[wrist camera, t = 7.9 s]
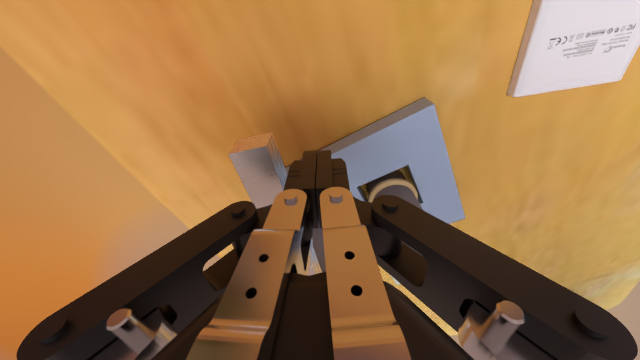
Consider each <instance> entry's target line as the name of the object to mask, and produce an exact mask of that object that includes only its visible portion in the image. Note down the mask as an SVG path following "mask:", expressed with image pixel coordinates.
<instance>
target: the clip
mask: <svg viewBox="0 0 640 360" xmlns="http://www.w3.org/2000/svg"><path fill="white" fill-rule="evenodd" d="M228 155H229V157H230V159H231V161H232V163H233V165H234V167H235V169H236V171H237V173H238V175H239V177H240V179H241V181H242V183H243V185H244V187H245V189H246V191H247V193H248V195H249V197H250V199H251V201H252V203H253V204H254V205H255V207H256V209H257V208H261V207H265V206H268V205H271V204H273V202H274V199H275V197H276V196H277V195H278V194H279V193H281V192H282V191H283V190H284V186H285V182H286V178H287V172H286V169H285V166H284V164H283V161H282V158H281V155H280V152H279V150H278V147H277V144H276V141H275V138H274V135H273V133H272V132H270V133H265V134H261V135H256V136H252V137H247V138H242V139H238V141H237V142H236V144H235V145H234V146H233V148H232V149H231V151H230V152H229V154H228ZM318 273H322V270H321V268H320V265H319V262H318V259H317V256H316V254H315V251H314V248H313V245H312V251H311V257H310V264H309V270H308V275H314V274H318Z"/></svg>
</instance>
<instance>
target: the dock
mask: <svg viewBox="0 0 640 360" xmlns="http://www.w3.org/2000/svg"><path fill="white" fill-rule="evenodd" d="M321 150H331V159H336V158H341V159H342V160H343V161H345V162H346V167H347V174H348V180H349V187H350V192H351V193H352V195H353V196H354V197H355V198H357V199H359V200H361V201H365V202H368V200H367V198H366V197H365V195H364V193H363V191H362V190H361V188H360V186H361V185H363V184H365V183H368V182H370V181H372V180H375V179H377V178H379V177H381V176H384V175H386V174H388V173H391V172H393V171H395V170H397V169H400V168H402V167H404V166H407V169H408V171H409V174H410V176H411V179H412V181H413V184H414V186H415V189H416V191H417V194H418V202H419V203H420V205H421V207H422V209H423V210H424V211H425V212H427V213H429V214H431V215H433V216H435V217H436V218H438V219H440V220H442V221H444V222H446V223H447V224H450V223H453V222H456V221H459V220H462V219H465V215H464V211H463V207H462V204H461V200H460V196H459V193H458V189H457V186H456V182H455V178H454V175H453V171H452V167H451V164H450V160H449V156H448V153H447V149H446V145H445V142H444V138H443V135H442V131H441V127H440V124H439V120H438V116H437V113H436V109H435V105H434V103H432V102H431V101H429V100H428V99H426V98H425V97H424V98H422V99H420V100H418V101H416V102H414V103H412V104H410V105H408V106H406V107H404V108H402V109H400V110H398V111H396V112H394V113H392V114H390V115H388V116H386V117H384V118H382V119H380V120H378V121H376V122H374V123H372V124H370V125H368V126H367V127H365V128H363V129H361V130H359V131H357V132H355V133H353V134H351V135H349V136H347V137H345V138H343V139H341V140H339V141H337V142H335V143H333V144H331V145H329V146H327V147H325V148H323V149H321ZM319 151H320V150H319ZM317 153H318V151H317ZM301 160H302V159H301ZM301 160H299V161H301ZM289 167H290V166H288V167H286V168H285V169H286V172H287V174H288V171H289ZM312 239H313V244H312V245H313V248H314V251H315V254H316V256H317V259H318V262H319V265H320V268H321V270H322V272H325V271H326V263H325V252H324V241H323V230H322V228H320V226H319V228H313V236H312Z"/></svg>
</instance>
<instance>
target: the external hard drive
mask: <svg viewBox="0 0 640 360" xmlns="http://www.w3.org/2000/svg"><path fill="white" fill-rule="evenodd" d="M639 45H640V0H534V1H533V4H532V8H531V11H530V15H529V18H528V22H527V25H526V29H525V32H524V36H523V39H522V43H521V46H520V50H519V53H518V57H517V60H516V64H515V67H514V71H513V74H512V78H511V81H510V85H509V88H508V92H507V95H509V96H512V97H522V96H527V95H534V94H540V93H545V92H552V91H558V90H565V89H571V88H578V87H584V86H590V85H596V84H603V83H609V82H616V81H619V80H621V78H622V77H623V75H624V73H625V71H626V69H627V68H628V66H629V63H630V61H631V60H632V58H633V56H634V54H635V52H636V51H637V49H638V47H639Z"/></svg>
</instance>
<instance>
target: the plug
mask: <svg viewBox="0 0 640 360" xmlns="http://www.w3.org/2000/svg"><path fill="white" fill-rule="evenodd" d="M367 188H368V191H369V199H368V201H369V202H371V203H372V202H373V200H374V199H375V198H376V197H378V196H382V195H393V196H397V197H400V198H402V199H403V200H405V201H407V202H409V203H411V204H413V205H414V206H416V207H418V208H420V209H422V207H421V205H420V203H419V202H418V194H417V191H416V190H415V188H414V186H413V185H412V184H411V183H410V182H409V181H407V180H406V179H405V177H404V175H403V174H402V172H400V171H399V170H395V171H393V172H391V173H388V174H386V175H384V176H381V177H379V178H377V179H375V180H372V181H370V182H368V183H367ZM422 210H423V209H422ZM403 243H404V242H403ZM406 245H407V244H406ZM407 246H408V245H407ZM409 247H410V246H409ZM410 248H411V247H410ZM413 250H414V249H413ZM416 252H417V251H416ZM417 253H418V252H417ZM419 254H420V253H419ZM420 255H421V254H420Z"/></svg>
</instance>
